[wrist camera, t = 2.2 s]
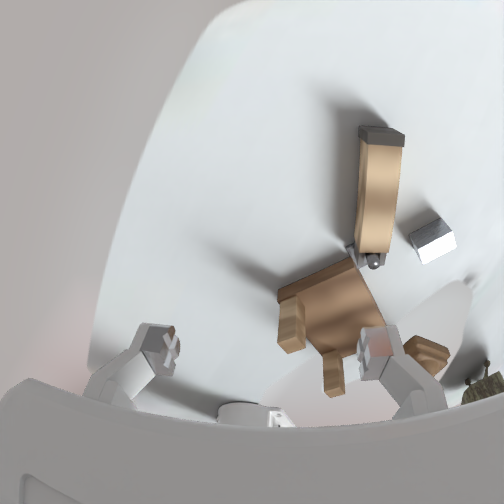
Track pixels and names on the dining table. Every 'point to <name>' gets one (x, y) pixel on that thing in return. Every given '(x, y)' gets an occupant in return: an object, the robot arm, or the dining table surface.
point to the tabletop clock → (483, 387)
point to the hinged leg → (377, 190)
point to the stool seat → (327, 317)
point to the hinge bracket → (369, 259)
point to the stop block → (432, 240)
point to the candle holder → (427, 354)
